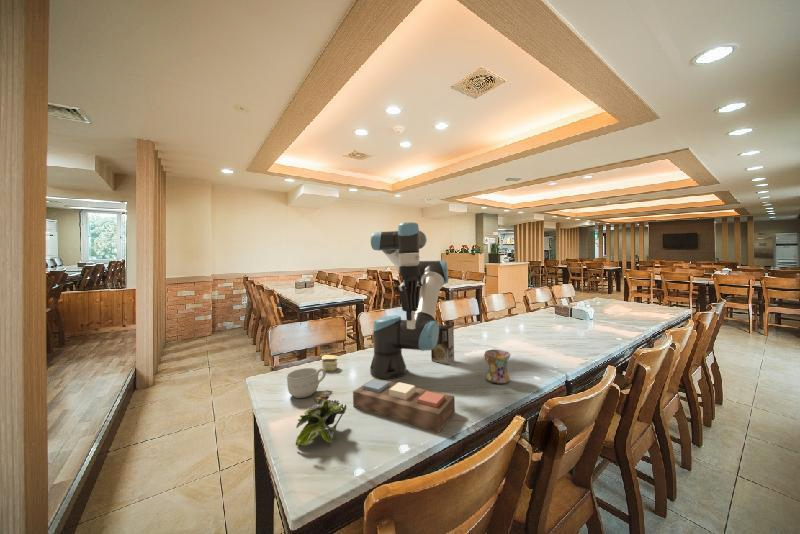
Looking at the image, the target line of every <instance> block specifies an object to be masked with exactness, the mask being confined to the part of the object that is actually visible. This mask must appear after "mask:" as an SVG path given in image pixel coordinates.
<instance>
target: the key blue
mask: <svg viewBox="0 0 800 534" xmlns="http://www.w3.org/2000/svg"><path fill="white" fill-rule="evenodd" d="M373 379H374V378H373ZM373 379H371V380H372V381H371V380H370V382H369V381H368V382H369V383H368V382H366V383H367V384H366V383H364V384H365V385H364V384H363V385H364V390H367V391H371V392H375V393H380V392H382V391H383V390H385V389H386V388H387V387H389V382H390V381H389V382H385V381H386V380H385V381H380V380H381V379H380V380H376V379H377V378H376V379H374V380H373Z"/></svg>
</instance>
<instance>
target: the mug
mask: <svg viewBox="0 0 800 534" xmlns="http://www.w3.org/2000/svg"><path fill="white" fill-rule="evenodd" d="M483 356H484V360H485V362H486V364H487V365H488V369H487V374H486V376H485V377H486V378H485V379H486V380H487V381H489V382H490V383H495V384H506V383H508V382H509V381H510V377H509V374H508V363H509V359H510V357H511V352H509V351H507V350H503V349H487V350H486V351H484V355H483Z"/></svg>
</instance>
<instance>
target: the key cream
mask: <svg viewBox="0 0 800 534" xmlns="http://www.w3.org/2000/svg"><path fill="white" fill-rule="evenodd" d="M396 383H397V384H396V385H394V386H393V387H391V388H390V389H389V396H391V397H395V398H399V399H403V400H407V399H409V398H410V397H411V396H412V395H413V394H414V393H415V387H416V385H414V384H409V383H404V382H399V381H398V382H396Z"/></svg>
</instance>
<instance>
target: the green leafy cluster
mask: <svg viewBox="0 0 800 534" xmlns="http://www.w3.org/2000/svg"><path fill="white" fill-rule="evenodd" d="M329 398H330V395H319V397H313V401H314V403H317V404H311V406H308V408H306V410H305V411H304V412H303V415H302V414H301V415H299V417H300V418H297V424H296V429H298V428H299V427H301V426H302V425H304V424H305V423H307V424H305V425H304V427H303V428H302V430H301V431H300V433H299V435H297V437H296V440H295V441H296V442H295V446H296V447H298V446H300V445H303V446H306V445H308V444H310V443H311V442H312V441H313V440H315V438H317V437H318V436H319V435H321V437H322V439H323V440H324V441H326V442H327V443H329V445H328V447H330V446H331V445H332V444H331V443H332V441H333V436H334V433H335V432H336V429H337V425H338V424H339V422H340V420H341V418H342V417H343V415H344V414H345V413H346V410H347V403H345V404H344V405H343V403H340V401H339V400H337V399H334V400H333V399H332V400H331V399H329ZM337 415H340V416H339V418H338V420H337V421H336V423H335V419H336V417H337ZM334 423H335V424H334ZM330 425H334V426H330Z"/></svg>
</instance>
